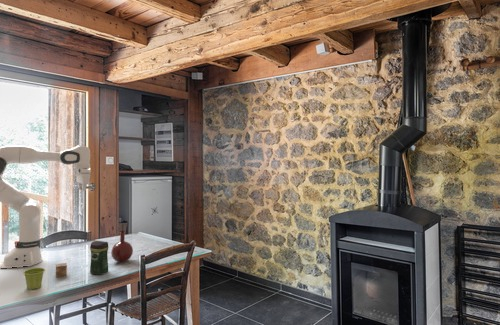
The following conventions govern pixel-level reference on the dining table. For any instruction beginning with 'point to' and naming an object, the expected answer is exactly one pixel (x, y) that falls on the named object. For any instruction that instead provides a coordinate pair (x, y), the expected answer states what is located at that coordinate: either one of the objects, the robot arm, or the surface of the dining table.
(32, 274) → the plant pot
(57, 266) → the walnut box
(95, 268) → the coffee jar
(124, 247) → the round-bottom flask
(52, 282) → the dining table surface
